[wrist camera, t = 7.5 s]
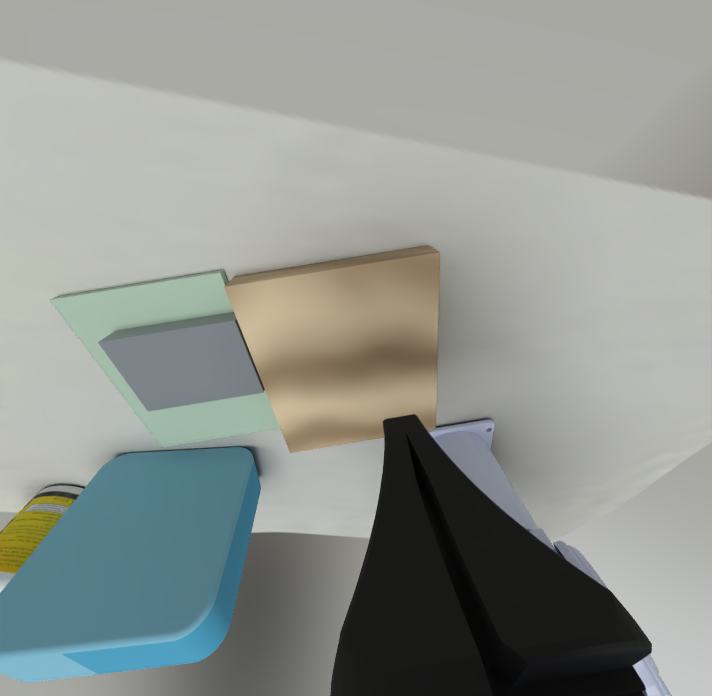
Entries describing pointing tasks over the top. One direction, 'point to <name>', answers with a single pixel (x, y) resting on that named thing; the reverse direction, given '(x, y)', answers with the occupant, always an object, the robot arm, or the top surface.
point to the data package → (134, 568)
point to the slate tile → (185, 361)
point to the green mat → (155, 306)
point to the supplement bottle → (32, 527)
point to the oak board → (344, 343)
